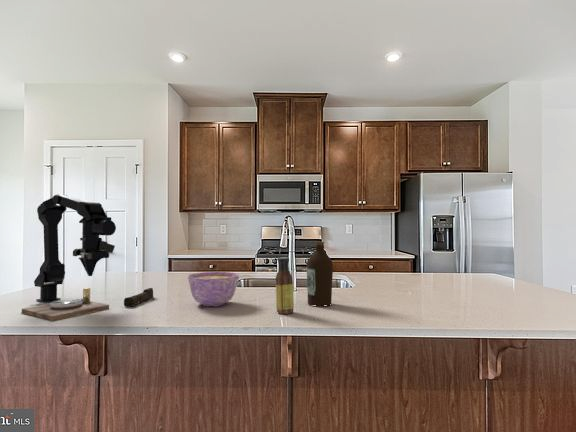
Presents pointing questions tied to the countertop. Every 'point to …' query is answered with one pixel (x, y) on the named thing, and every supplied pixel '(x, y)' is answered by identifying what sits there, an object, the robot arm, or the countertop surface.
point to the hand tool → (139, 298)
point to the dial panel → (64, 310)
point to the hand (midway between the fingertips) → (90, 276)
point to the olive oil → (319, 277)
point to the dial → (71, 301)
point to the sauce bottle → (284, 287)
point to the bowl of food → (213, 287)
